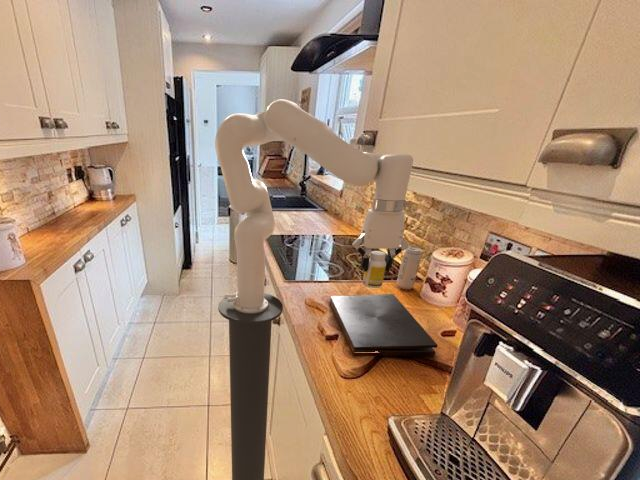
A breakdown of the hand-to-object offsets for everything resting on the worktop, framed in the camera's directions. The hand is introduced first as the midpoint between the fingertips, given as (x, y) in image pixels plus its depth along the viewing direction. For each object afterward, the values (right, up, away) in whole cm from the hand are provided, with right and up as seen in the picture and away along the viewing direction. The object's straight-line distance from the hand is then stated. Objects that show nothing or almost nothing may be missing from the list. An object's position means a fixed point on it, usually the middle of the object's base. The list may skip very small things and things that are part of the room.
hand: (375, 269), depth 93 cm
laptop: (+2, -17, +6) cm, 18 cm away
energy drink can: (+24, -4, +32) cm, 40 cm away
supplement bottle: (0, -5, +2) cm, 5 cm away
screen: (+2, -15, +4) cm, 16 cm away
